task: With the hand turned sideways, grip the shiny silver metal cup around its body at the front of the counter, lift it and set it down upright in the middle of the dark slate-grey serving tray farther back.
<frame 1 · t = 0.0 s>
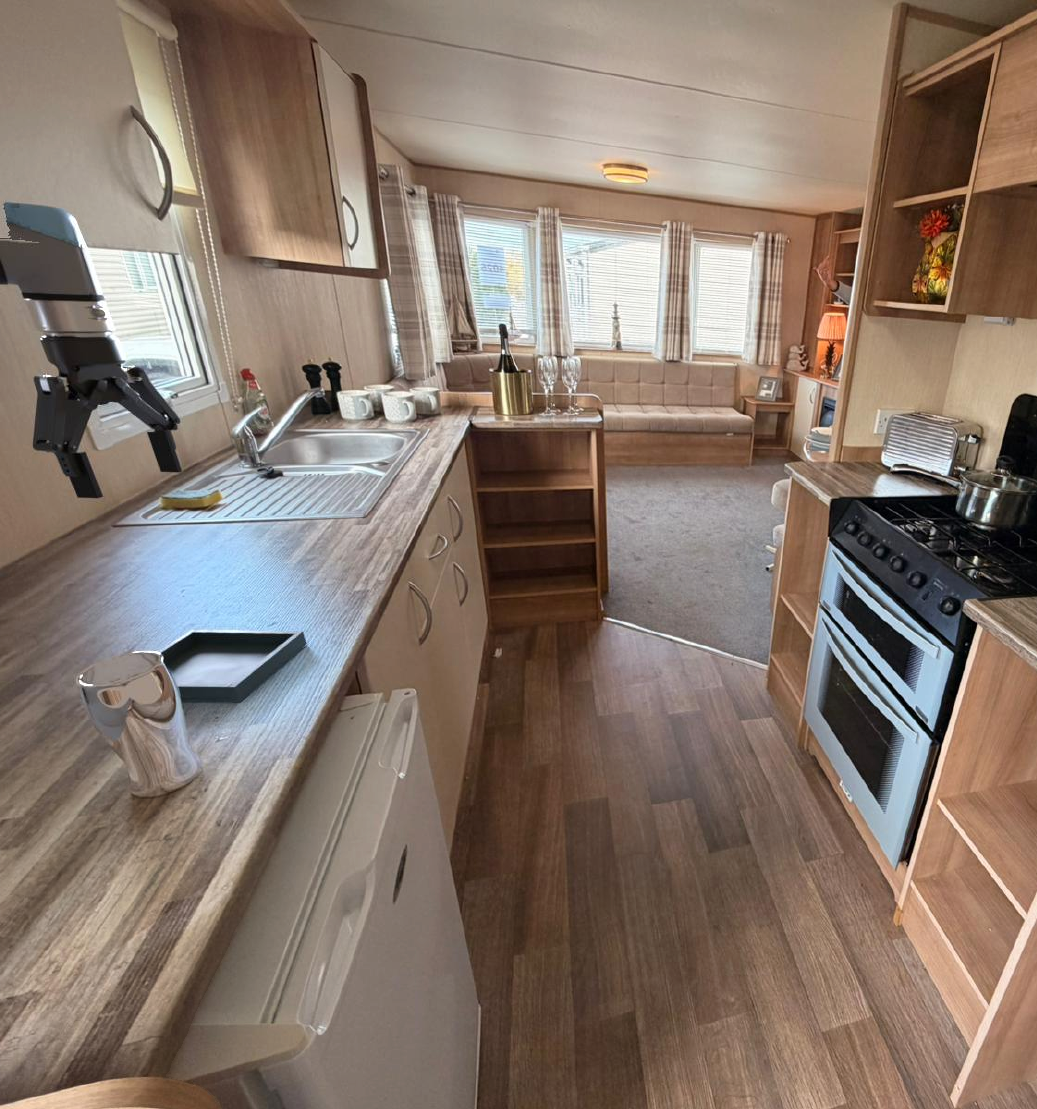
hand: (134, 483, 89), 24 cm above the counter, tool pointing down, fingers open, 13 cm apart
tray: (217, 671, 86), on the counter
shiny silver metal cup: (169, 778, 67), on the counter
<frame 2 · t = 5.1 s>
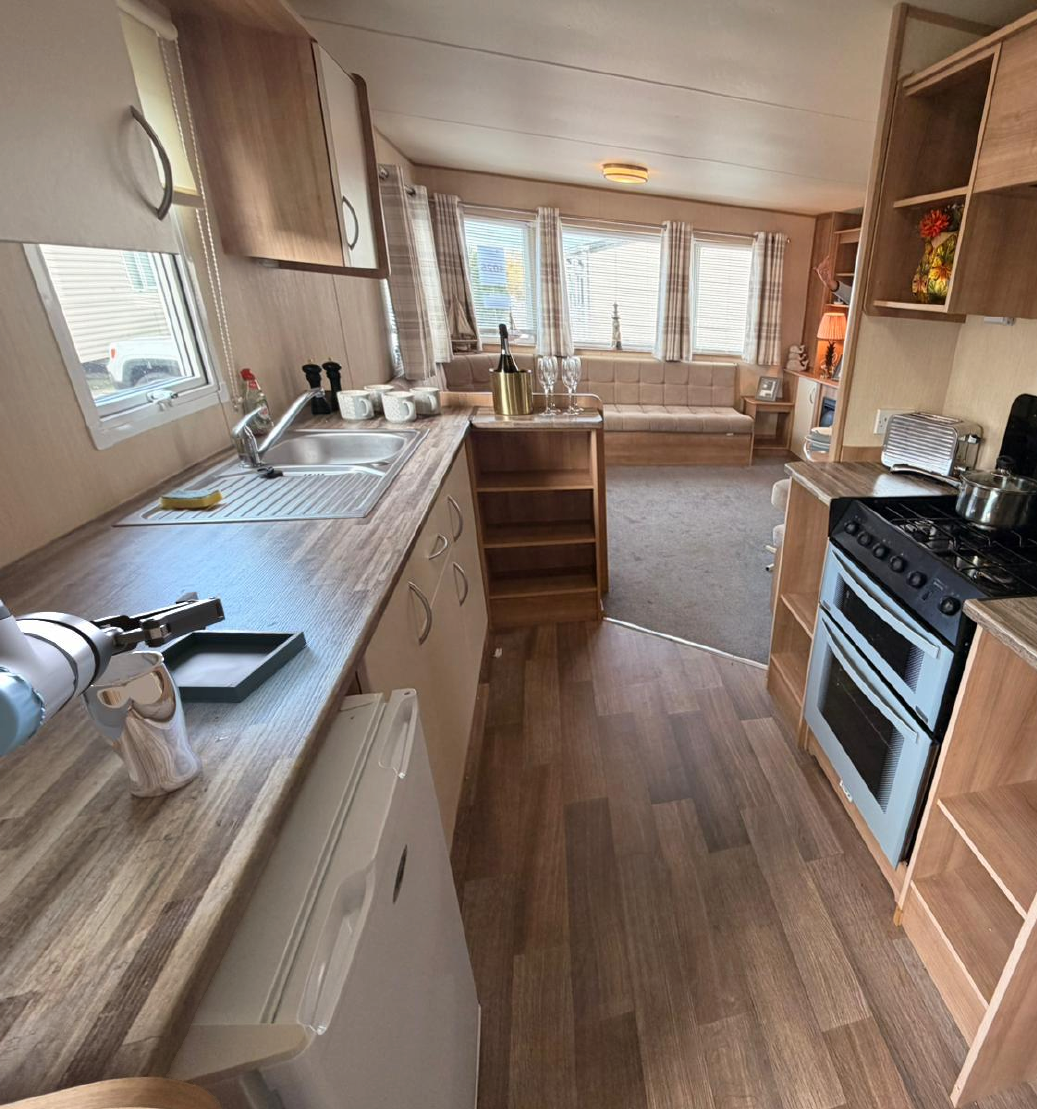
hand: (110, 617, 63), 19 cm above the counter, tool tilted 75°, fingers open, 13 cm apart
nothing on the counter moved.
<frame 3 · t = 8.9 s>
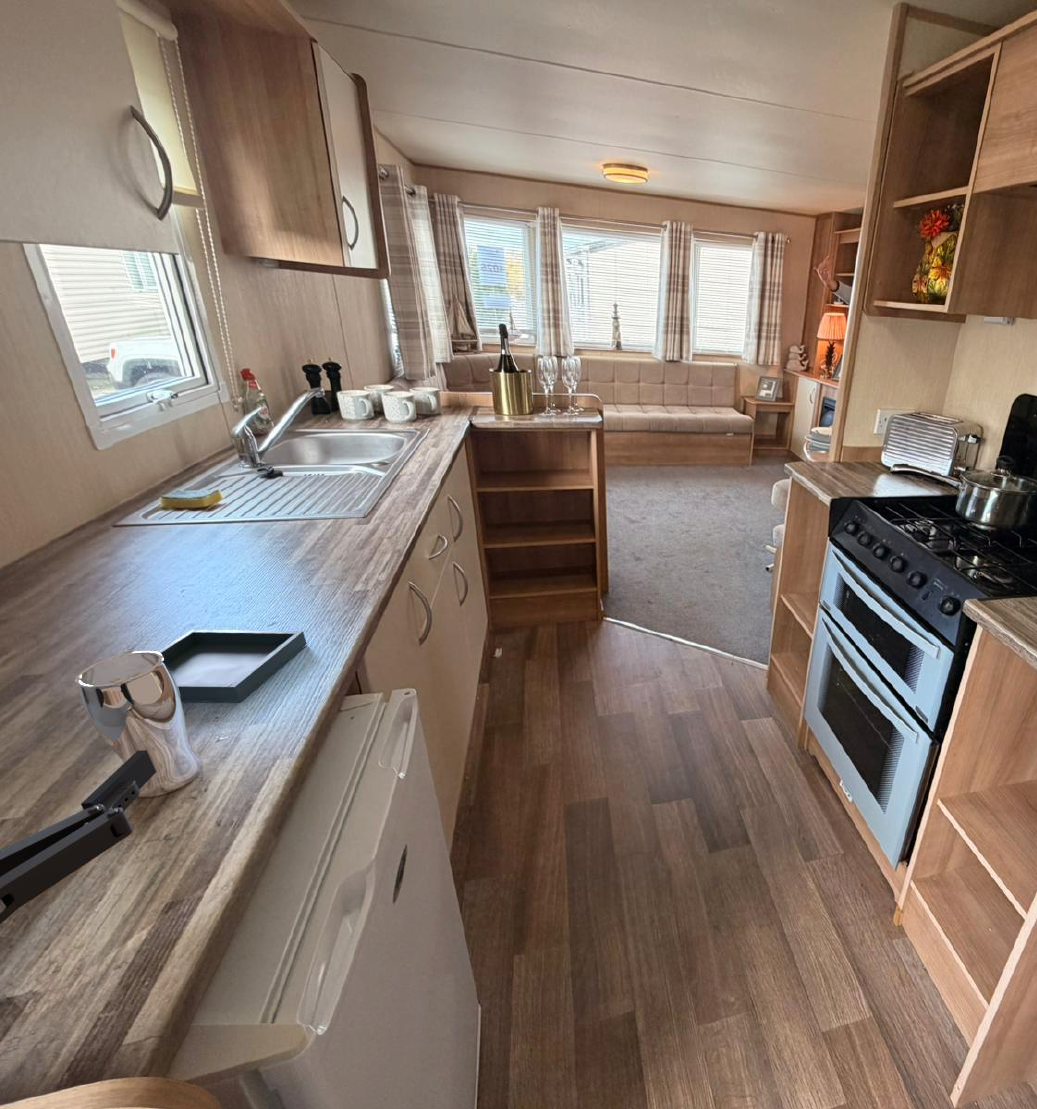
hand: (62, 768, 55), 10 cm above the counter, tool horizontal, fingers open, 13 cm apart
nothing on the counter moved.
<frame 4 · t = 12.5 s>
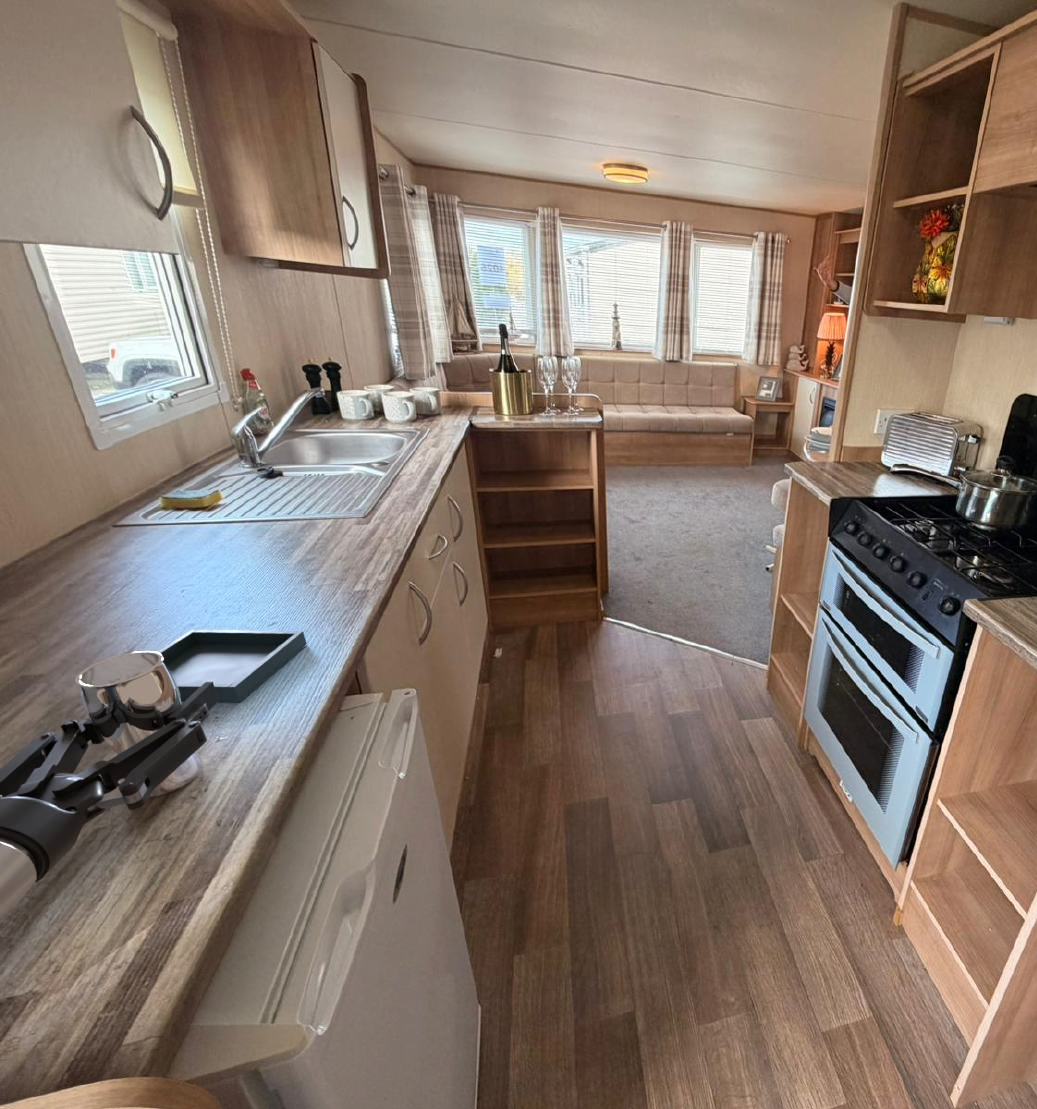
hand: (174, 694, 69), 8 cm above the counter, tool horizontal, fingers closed on shiny silver metal cup, 7 cm apart
shiny silver metal cup: (169, 778, 67), on the counter, touching gripper
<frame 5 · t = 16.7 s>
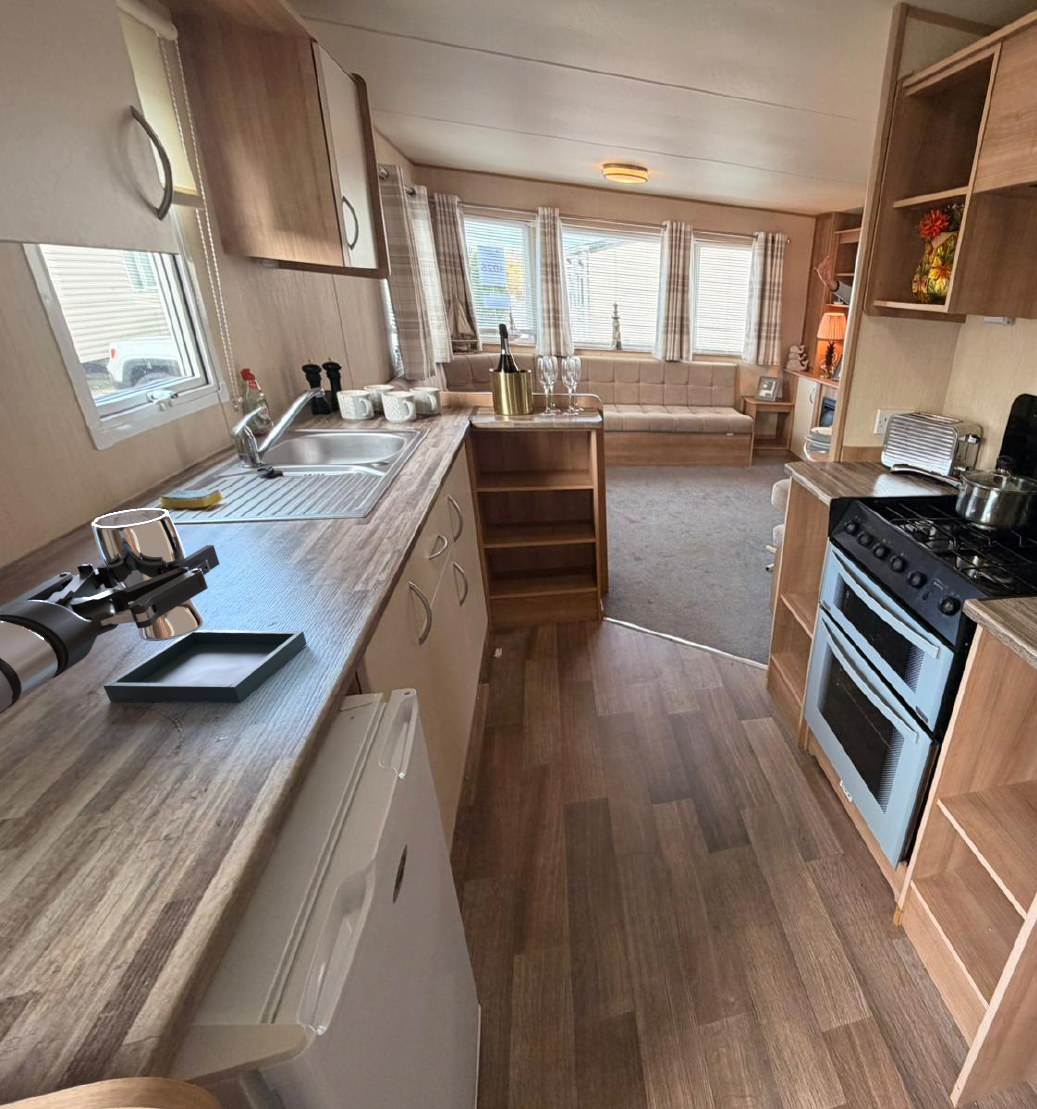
hand: (179, 555, 76), 20 cm above the counter, tool horizontal, fingers closed on shiny silver metal cup, 7 cm apart
shiny silver metal cup: (173, 630, 74), point 12 cm above the counter, touching gripper
when the fingers open (9 cm above the counter, at t = 21.3 s): shiny silver metal cup stays where it is, resting on tray.
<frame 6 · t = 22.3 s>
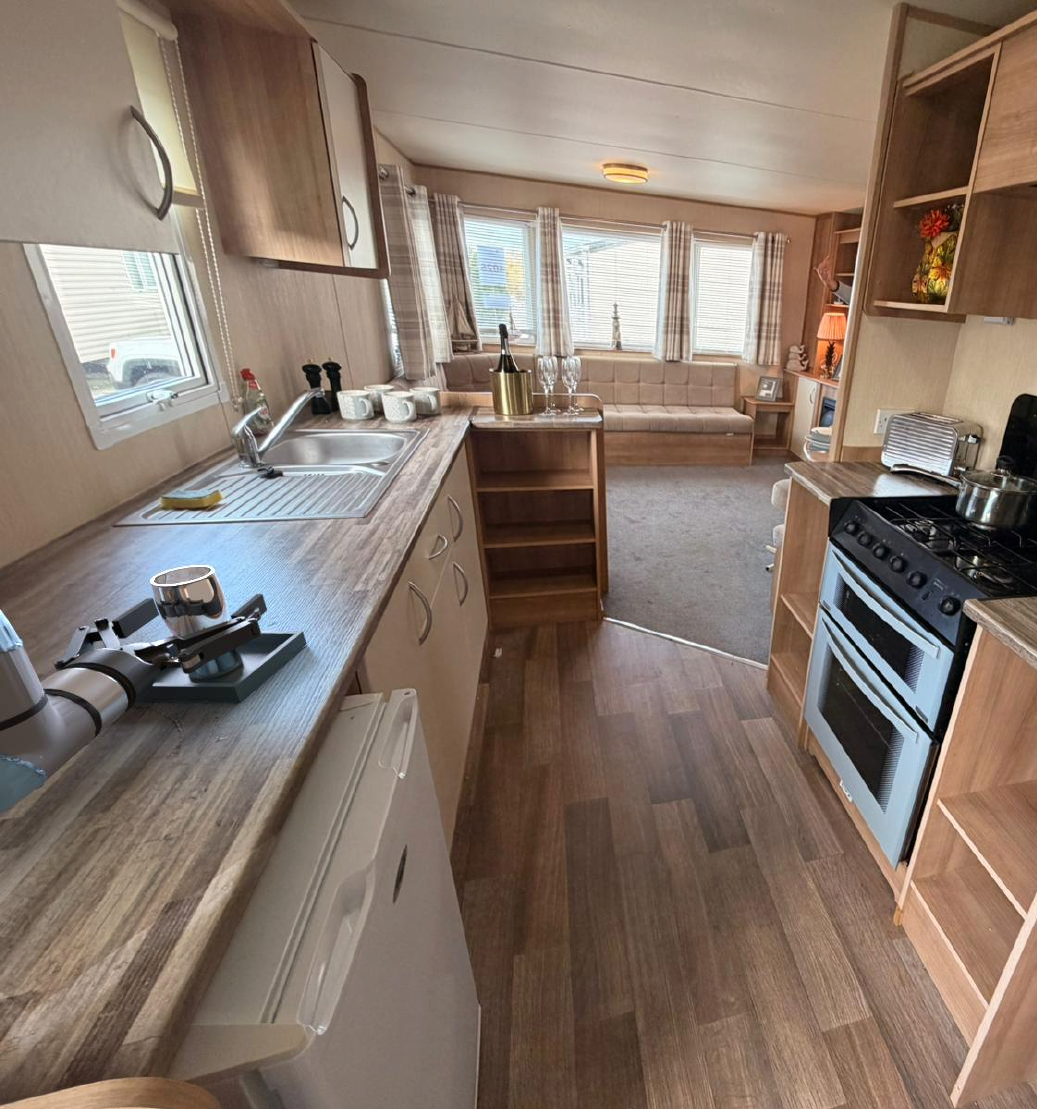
hand: (208, 604, 85), 10 cm above the counter, tool horizontal, fingers open, 13 cm apart
shiny silver metal cup: (216, 669, 86), resting on tray
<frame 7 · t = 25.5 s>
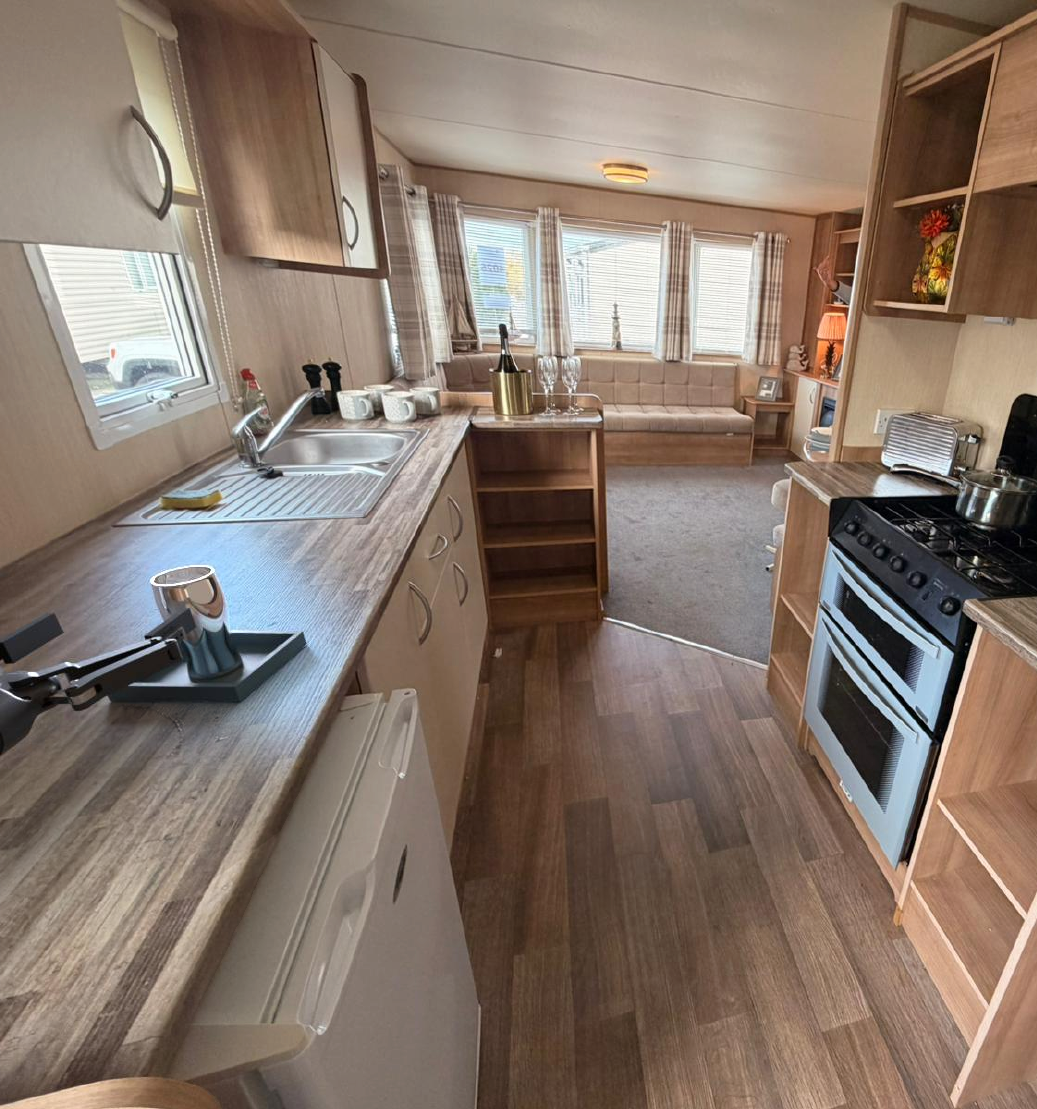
hand: (124, 619, 70), 15 cm above the counter, tool horizontal, fingers open, 13 cm apart
nothing on the counter moved.
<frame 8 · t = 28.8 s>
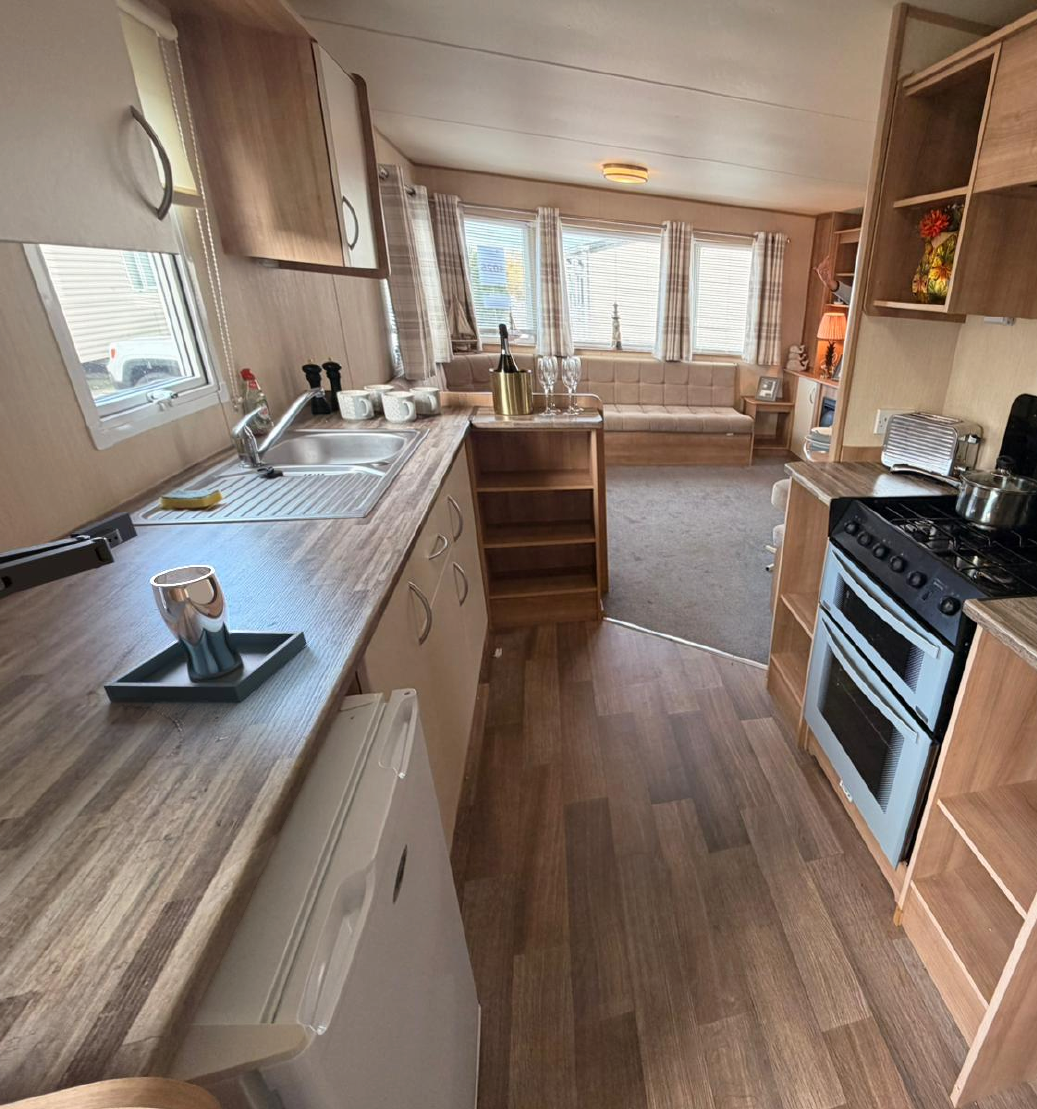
hand: (54, 525, 62), 28 cm above the counter, tool horizontal, fingers open, 13 cm apart
nothing on the counter moved.
at the end: shiny silver metal cup inside the target area in the tray (0.1 cm from its centre), point 0.4 cm above the tray's base; shiny silver metal cup tilted 0°; the gripper is holding nothing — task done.
